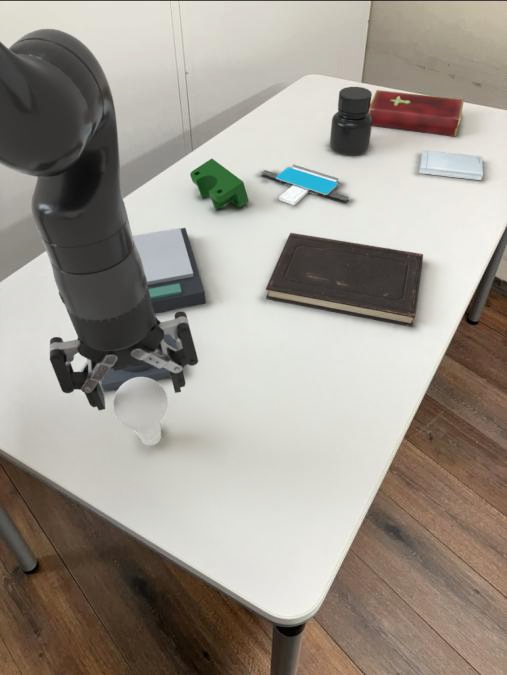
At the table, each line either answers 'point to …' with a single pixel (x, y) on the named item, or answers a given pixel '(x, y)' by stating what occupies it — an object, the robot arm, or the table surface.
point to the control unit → (136, 371)
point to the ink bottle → (352, 122)
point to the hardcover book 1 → (347, 278)
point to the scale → (170, 269)
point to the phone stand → (305, 184)
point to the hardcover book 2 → (416, 112)
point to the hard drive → (451, 165)
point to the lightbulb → (141, 407)
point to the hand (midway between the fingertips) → (139, 395)
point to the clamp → (219, 184)
